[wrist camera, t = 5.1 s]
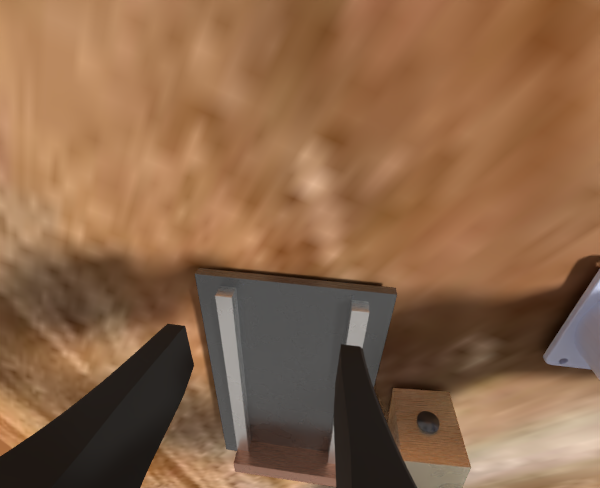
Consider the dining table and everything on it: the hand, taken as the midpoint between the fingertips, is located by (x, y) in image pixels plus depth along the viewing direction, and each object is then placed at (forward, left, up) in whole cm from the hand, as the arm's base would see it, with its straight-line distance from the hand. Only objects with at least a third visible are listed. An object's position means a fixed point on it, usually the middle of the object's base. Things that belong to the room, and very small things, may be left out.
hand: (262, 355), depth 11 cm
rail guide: (0, +13, -8) cm, 15 cm away
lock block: (-10, +16, -8) cm, 21 cm away
